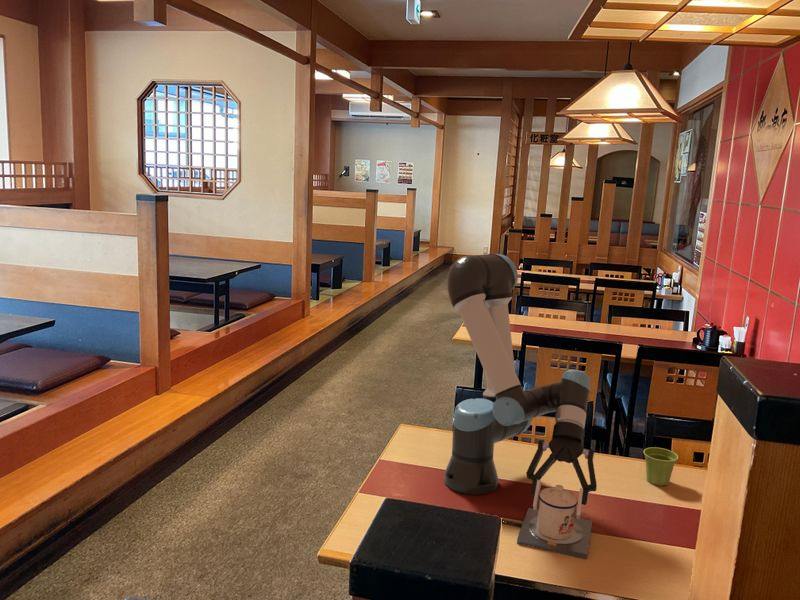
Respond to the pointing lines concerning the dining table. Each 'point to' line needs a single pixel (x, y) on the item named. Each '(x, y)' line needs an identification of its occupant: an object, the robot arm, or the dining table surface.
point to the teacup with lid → (556, 512)
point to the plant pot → (659, 465)
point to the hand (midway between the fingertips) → (556, 512)
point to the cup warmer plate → (570, 546)
